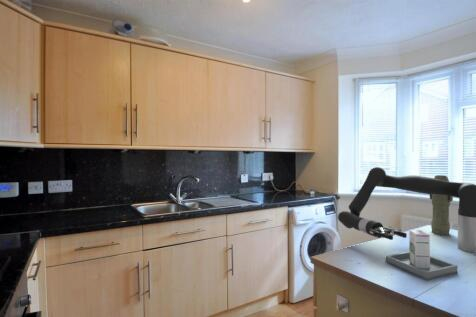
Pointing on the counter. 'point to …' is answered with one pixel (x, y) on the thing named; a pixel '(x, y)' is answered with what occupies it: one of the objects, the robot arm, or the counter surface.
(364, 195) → the robot arm
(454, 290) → the counter surface
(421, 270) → the slate tray
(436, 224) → the thermos
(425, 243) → the syrup box
